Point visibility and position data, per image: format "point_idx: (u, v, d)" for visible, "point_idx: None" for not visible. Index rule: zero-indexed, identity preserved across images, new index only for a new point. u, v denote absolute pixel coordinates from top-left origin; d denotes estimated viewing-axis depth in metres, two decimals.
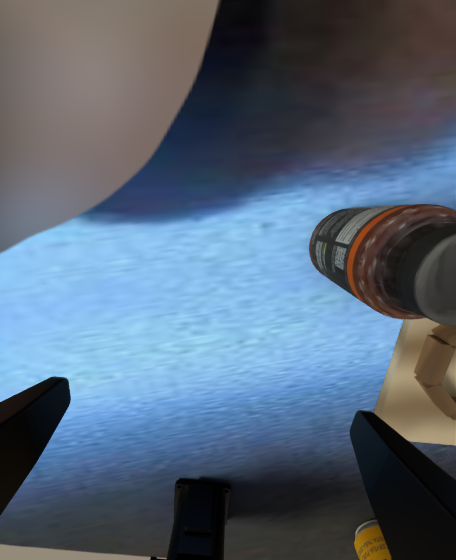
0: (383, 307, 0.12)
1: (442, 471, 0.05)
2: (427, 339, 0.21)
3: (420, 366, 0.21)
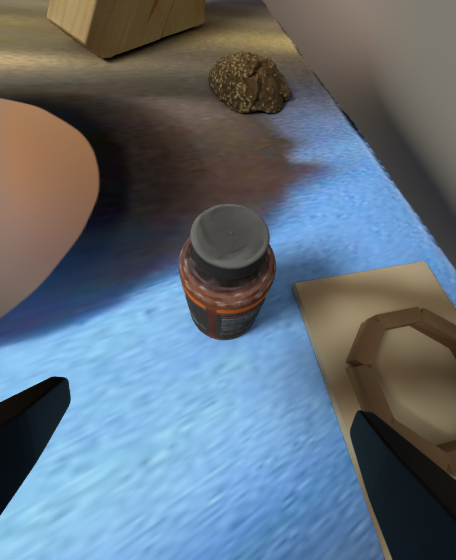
0: (210, 294, 0.13)
1: (441, 471, 0.05)
2: (348, 373, 0.19)
3: (364, 409, 0.17)
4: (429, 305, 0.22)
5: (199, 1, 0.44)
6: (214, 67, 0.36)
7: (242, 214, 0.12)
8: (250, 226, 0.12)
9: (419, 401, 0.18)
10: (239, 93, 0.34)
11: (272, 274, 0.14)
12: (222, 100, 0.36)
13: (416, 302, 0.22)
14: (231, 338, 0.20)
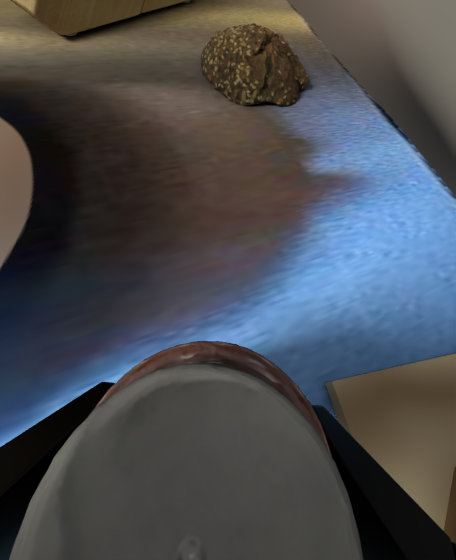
0: None
1: (375, 464, 0.05)
2: None
3: None
4: None
5: None
6: (207, 45, 0.27)
7: (244, 424, 0.03)
8: (279, 499, 0.03)
9: None
10: (240, 77, 0.25)
11: None
12: (218, 88, 0.27)
13: None
14: None
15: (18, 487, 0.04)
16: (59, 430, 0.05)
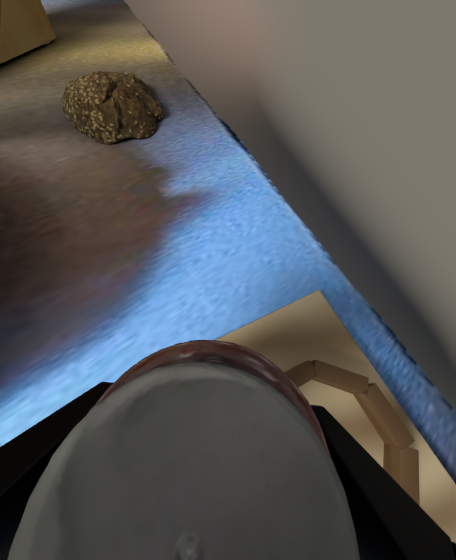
0: None
1: (375, 464, 0.05)
2: None
3: None
4: (327, 344, 0.20)
5: (38, 14, 0.37)
6: (63, 95, 0.30)
7: (242, 422, 0.03)
8: (277, 495, 0.03)
9: None
10: (96, 123, 0.29)
11: None
12: (83, 132, 0.31)
13: (314, 345, 0.20)
14: None
15: (18, 487, 0.04)
16: (59, 430, 0.05)
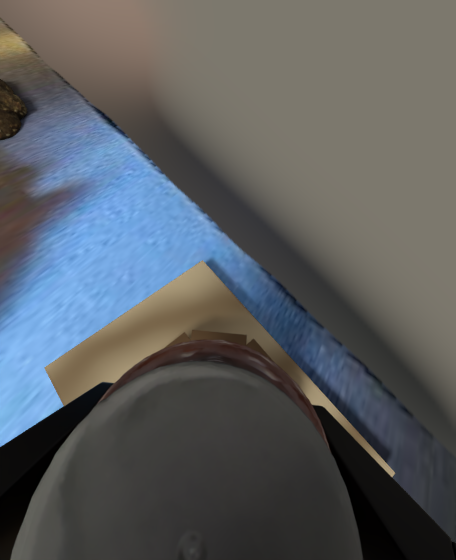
0: None
1: (375, 464, 0.05)
2: None
3: None
4: (213, 313, 0.19)
5: None
6: None
7: (244, 421, 0.03)
8: (279, 493, 0.03)
9: None
10: None
11: None
12: None
13: (199, 316, 0.19)
14: None
15: (18, 487, 0.04)
16: (59, 430, 0.05)
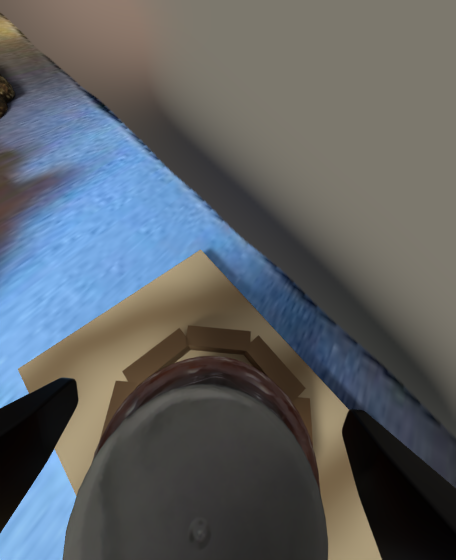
0: None
1: (431, 470, 0.05)
2: None
3: None
4: (212, 307, 0.17)
5: None
6: None
7: (240, 434, 0.04)
8: (266, 491, 0.04)
9: None
10: None
11: None
12: None
13: (196, 311, 0.17)
14: None
15: None
16: (3, 424, 0.05)
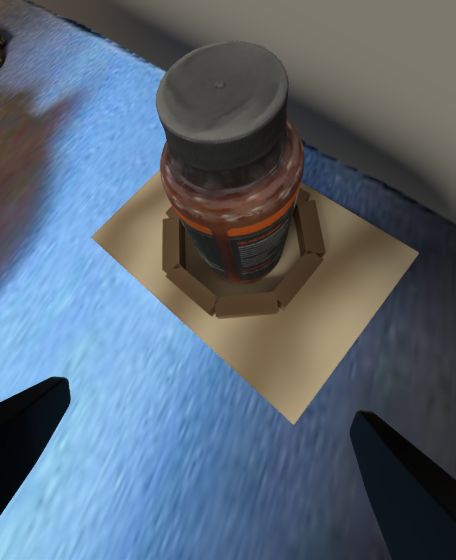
0: (211, 205, 0.08)
1: (442, 471, 0.05)
2: (175, 284, 0.17)
3: None
4: None
5: None
6: None
7: (234, 52, 0.07)
8: (251, 65, 0.07)
9: None
10: None
11: (300, 158, 0.09)
12: None
13: None
14: (258, 278, 0.16)
15: None
16: None
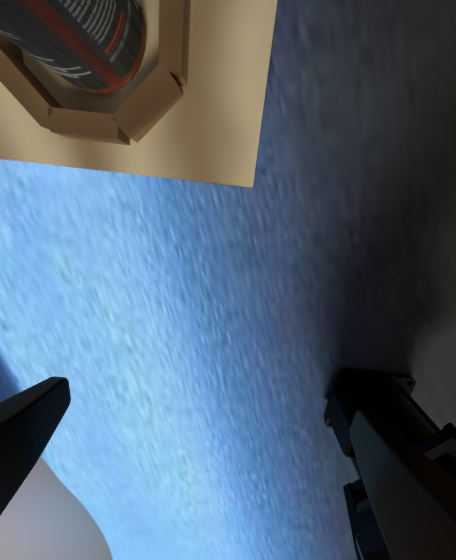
0: None
1: (441, 471, 0.05)
2: (72, 138, 0.15)
3: (111, 142, 0.15)
4: None
5: None
6: None
7: None
8: None
9: None
10: None
11: None
12: None
13: None
14: (137, 62, 0.13)
15: None
16: None
